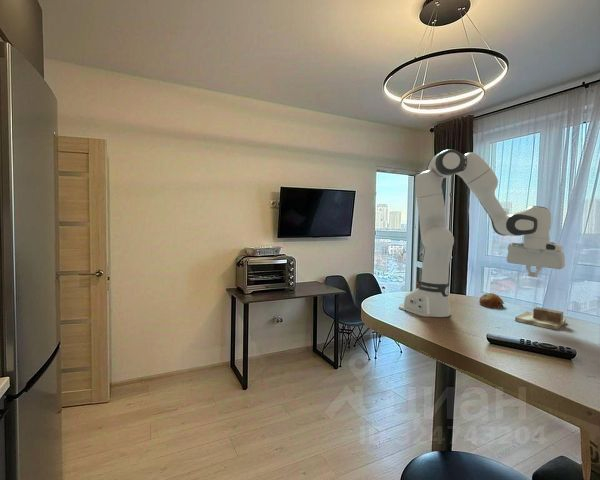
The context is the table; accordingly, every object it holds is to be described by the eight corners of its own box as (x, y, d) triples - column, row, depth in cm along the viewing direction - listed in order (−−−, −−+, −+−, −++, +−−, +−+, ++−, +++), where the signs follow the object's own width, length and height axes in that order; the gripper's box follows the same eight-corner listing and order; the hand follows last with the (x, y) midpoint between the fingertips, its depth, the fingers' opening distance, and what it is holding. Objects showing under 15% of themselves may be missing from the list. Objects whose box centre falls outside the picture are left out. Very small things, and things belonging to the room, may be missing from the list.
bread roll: (493, 310, 165) (487, 294, 167) (510, 306, 156) (504, 290, 158) (478, 311, 161) (473, 295, 164) (495, 308, 152) (489, 291, 155)
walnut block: (533, 308, 135) (561, 313, 128) (536, 307, 137) (563, 311, 130) (533, 317, 135) (560, 323, 128) (535, 316, 138) (563, 321, 130)
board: (515, 320, 136) (515, 317, 136) (525, 314, 145) (526, 311, 145) (556, 329, 125) (556, 326, 125) (565, 322, 134) (565, 319, 134)
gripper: (505, 242, 143) (502, 273, 144) (563, 247, 128) (560, 281, 129) (510, 242, 147) (508, 272, 148) (567, 246, 132) (564, 280, 133)
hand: (532, 276), depth 138 cm, fingers closed
